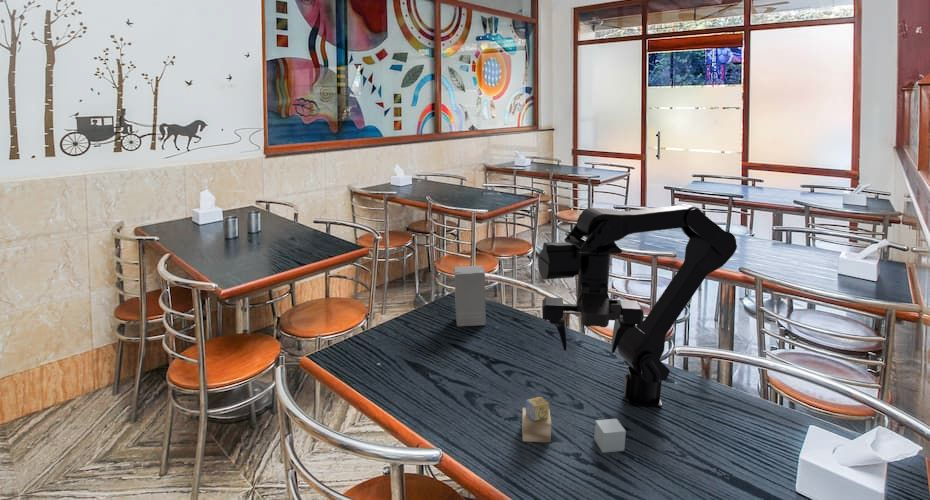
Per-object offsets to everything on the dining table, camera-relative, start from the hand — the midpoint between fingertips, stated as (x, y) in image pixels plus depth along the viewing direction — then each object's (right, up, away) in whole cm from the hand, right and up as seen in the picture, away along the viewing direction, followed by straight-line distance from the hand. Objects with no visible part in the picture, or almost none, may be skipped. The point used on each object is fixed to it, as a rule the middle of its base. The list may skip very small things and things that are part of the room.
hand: (588, 351), depth 108 cm
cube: (+1, -15, -10) cm, 18 cm away
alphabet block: (-11, -11, -7) cm, 17 cm away
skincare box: (-23, 0, +45) cm, 50 cm away
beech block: (-11, -14, -6) cm, 19 cm away
